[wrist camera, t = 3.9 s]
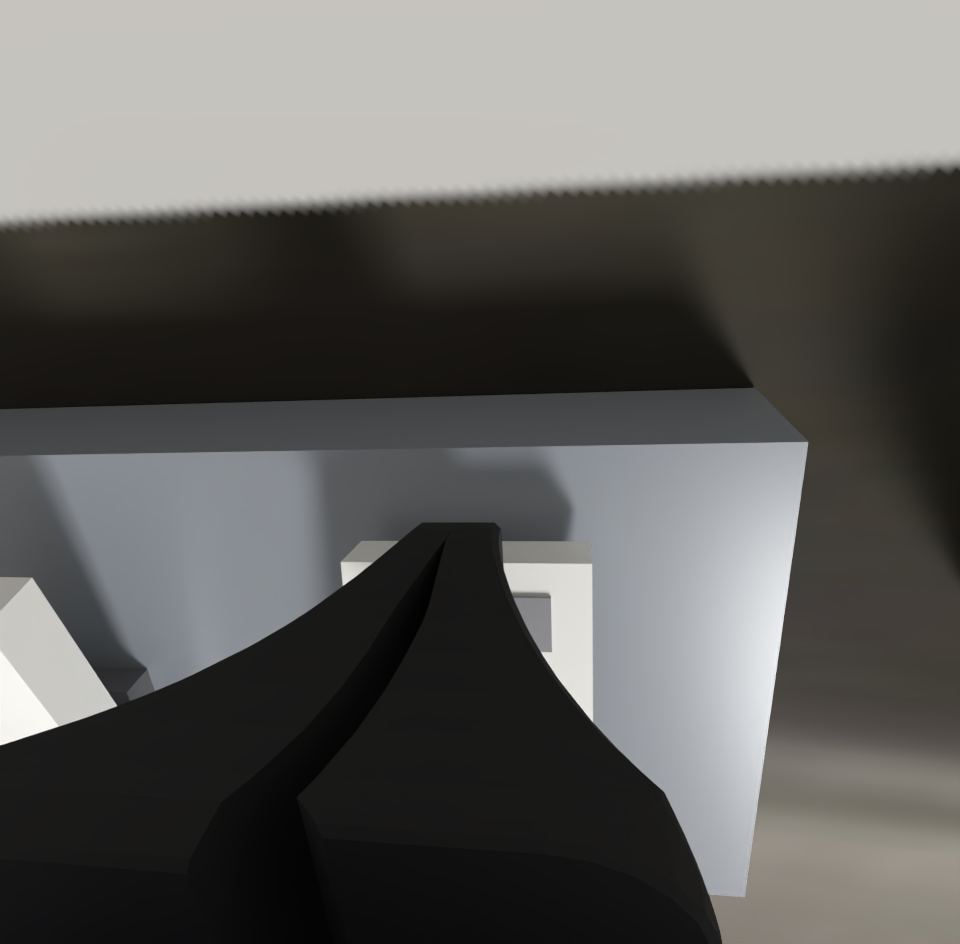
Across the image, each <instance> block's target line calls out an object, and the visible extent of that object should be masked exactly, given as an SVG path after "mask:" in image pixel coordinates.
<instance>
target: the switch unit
mask: <svg viewBox="0 0 960 944" xmlns="http://www.w3.org/2000/svg"><path fill="white" fill-rule="evenodd" d="M807 448H808V441H807V440H806V439H805V438H804V437H803V436H802V435H801V434H800V433H799V432H798V431H797V430H796V429H795V428H794V427H793V426H792V425H791V424H790V423H789V422H788V421H787V420H786V419H785V418H784V417H783V416H782V415H781V414H780V413H779V412H778V410H777V409H776V408H775V407H774V406H773V405H772V404H771V403H770V402H769V401H768V400H767V399H766V398H765V397H764V396H763V395H762V394H761V393H760V392H759V391H758V390H757V389H756V388H730V389H695V390H659V391H624V392H589V393H554V394H519V395H483V396H448V397H413V398H378V399H342V400H307V401H272V402H237V403H201V404H166V405H131V406H96V407H61V408H25V409H0V577H27V578H33V580H34V581H35V583H36V584H37V586H38V587H39V589H40V590H41V592H42V593H43V595H44V596H45V598H46V599H47V601H48V602H49V604H50V605H51V607H52V608H53V610H54V611H55V613H56V614H57V616H58V617H59V619H60V620H61V622H62V623H63V625H64V626H65V628H66V629H67V631H68V632H69V634H70V635H71V637H72V638H73V640H74V641H75V643H76V644H77V646H78V648H79V649H80V651H81V652H82V654H83V655H84V657H85V658H86V660H87V661H88V663H89V664H90V666H91V667H92V669H93V670H94V672H95V673H96V675H97V676H98V678H99V679H100V681H101V682H102V684H103V685H104V687H105V688H106V690H107V691H108V693H109V694H110V696H111V697H112V699H113V700H114V702H115V703H116V705H117V706H119V705H121V704H124V703H126V702H129V701H131V700H134V699H137V698H139V697H142V696H144V695H147V694H149V693H152V692H154V691H156V690H159V689H161V688H163V687H166V686H168V685H170V684H173V683H175V682H178V681H180V680H182V679H184V678H186V677H189V676H191V675H193V674H195V673H197V672H199V671H201V670H203V669H205V668H207V667H209V666H211V665H213V664H215V663H217V662H219V661H221V660H223V659H225V658H227V657H229V656H231V655H233V654H235V653H237V652H239V651H241V650H243V649H245V648H247V647H249V646H251V645H253V644H255V643H256V642H258V641H260V640H262V639H263V638H265V637H267V636H269V635H270V634H272V633H274V632H275V631H277V630H279V629H280V628H282V627H284V626H286V625H287V624H289V623H290V622H292V621H294V620H295V619H297V618H298V617H300V616H301V615H303V614H304V613H306V612H307V611H309V610H310V609H312V608H313V607H315V606H316V605H318V604H319V603H320V602H322V601H323V600H324V599H326V598H327V597H328V596H330V595H331V594H333V593H334V592H335V591H337V590H338V589H339V588H341V587H342V586H343V583H342V571H341V561H342V560H343V559H344V558H345V557H346V556H347V555H348V554H349V553H350V552H351V551H352V550H353V549H354V548H355V547H356V546H357V545H358V544H359V543H360V542H361V541H400V540H401V539H402V538H403V537H404V536H406V535H407V534H408V533H409V532H410V531H412V530H413V529H414V528H415V527H417V526H418V525H420V524H421V523H422V522H494V523H496V524H497V525H498V526H499V527H500V528H501V532H502V541H590V547H591V556H592V609H593V723H594V724H595V725H596V726H597V727H598V728H599V729H600V730H601V731H602V733H603V734H604V735H605V736H606V737H607V738H608V739H609V740H610V741H611V742H612V743H613V744H614V745H615V747H616V748H617V749H618V750H619V751H621V752H622V753H623V754H624V755H625V756H626V757H627V758H628V759H629V760H630V761H631V762H632V763H633V764H634V765H635V766H636V767H637V768H638V769H639V770H640V771H641V772H642V773H644V774H645V775H646V776H647V777H648V778H649V779H650V780H651V781H652V782H653V783H655V784H656V785H657V786H658V787H659V788H660V789H661V790H663V791H664V792H665V794H666V796H667V798H668V801H669V803H670V805H671V807H672V809H673V811H674V813H675V815H676V817H677V819H678V821H679V824H680V826H681V828H682V830H683V832H684V834H685V836H686V839H687V841H688V843H689V846H690V848H691V850H692V853H693V855H694V857H695V860H696V862H697V864H698V867H699V869H700V872H701V875H702V877H703V880H704V883H705V886H706V888H707V891H708V894H710V895H723V896H737V897H745V890H746V883H747V876H748V869H749V862H750V855H751V848H752V840H753V833H754V826H755V819H756V812H757V805H758V798H759V791H760V783H761V776H762V769H763V762H764V755H765V748H766V741H767V733H768V726H769V719H770V712H771V705H772V698H773V691H774V684H775V676H776V669H777V662H778V655H779V648H780V641H781V634H782V626H783V619H784V612H785V605H786V598H787V591H788V584H789V576H790V569H791V562H792V555H793V548H794V541H795V534H796V527H797V519H798V512H799V505H800V498H801V491H802V484H803V477H804V469H805V462H806V455H807Z"/></svg>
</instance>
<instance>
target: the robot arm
mask: <svg viewBox="0 0 960 944" xmlns="http://www.w3.org/2000/svg"><path fill="white" fill-rule="evenodd" d="M0 944H722V940H721V935H720V930H719V927H718V923H717V919H716V916H715V913H714V910H713V907H712V903H711V900H710V897H709V894H708V891H707V888H706V886H705V883H704V880H703V877H702V875H701V872H700V869H699V867H698V864H697V862H696V860H695V857H694V855H693V853H692V850H691V848H690V846H689V843H688V841H687V839H686V836H685V834H684V832H683V830H682V828H681V826H680V824H679V821H678V819H677V817H676V815H675V813H674V811H673V809H672V807H671V805H670V803H669V801H668V798H667V796H666V794H665V792H664V791H663V790H661V789H660V788H659V787H658V786H657V785H656V784H655V783H653V782H652V781H651V780H650V779H649V778H648V777H647V776H646V775H645V774H644V773H642V772H641V771H640V770H639V769H638V768H637V767H636V766H635V765H634V764H633V763H632V762H631V761H630V760H629V759H628V758H627V757H626V756H625V755H624V754H623V753H622V752H621V751H619V750H618V749H617V748H616V747H615V745H614V744H613V743H612V742H611V741H610V740H609V739H608V738H607V737H606V736H605V735H604V734H603V733H602V731H601V730H600V729H599V728H598V727H597V726H596V725H595V724H594V723H593V722H592V721H591V720H590V718H589V717H588V716H587V715H586V713H585V712H584V711H583V709H582V708H581V707H580V706H579V704H578V703H577V702H576V701H575V699H574V698H573V697H572V696H571V694H570V693H569V692H568V691H567V689H566V688H565V687H564V685H563V684H562V683H561V682H560V680H559V679H558V678H557V676H556V675H555V673H554V672H553V670H552V669H551V667H550V666H549V664H548V663H547V661H546V660H545V658H544V656H543V655H542V653H541V651H540V650H539V648H538V646H537V645H536V643H535V641H534V640H533V638H532V636H531V634H530V632H529V630H528V628H527V626H526V624H525V622H524V620H523V618H522V616H521V614H520V612H519V609H518V607H517V605H516V603H515V600H514V598H513V595H512V593H511V590H510V587H509V584H508V581H507V578H506V575H505V572H504V565H503V549H502V532H501V528H500V527H499V526H498V525H497V524H496V523H494V522H422V523H421V524H420V525H418V526H417V527H415V528H414V529H413V530H412V531H410V532H409V533H408V534H407V535H406V536H404V537H403V538H402V539H401V540H400V541H398V542H397V543H396V544H395V545H394V546H393V547H391V548H390V549H389V550H388V551H387V552H385V553H384V554H383V555H382V556H380V557H379V558H378V559H377V560H376V561H374V562H373V563H372V564H371V565H369V566H368V567H367V568H366V569H365V570H363V571H362V572H361V573H360V574H358V575H357V576H356V577H355V578H353V579H352V580H350V581H349V582H348V583H346V584H345V585H344V586H342V587H341V588H339V589H338V590H337V591H335V592H334V593H333V594H331V595H330V596H328V597H327V598H326V599H324V600H323V601H322V602H320V603H319V604H318V605H316V606H315V607H313V608H312V609H310V610H309V611H307V612H306V613H304V614H303V615H301V616H300V617H298V618H297V619H295V620H294V621H292V622H290V623H289V624H287V625H286V626H284V627H282V628H280V629H279V630H277V631H275V632H274V633H272V634H270V635H269V636H267V637H265V638H263V639H262V640H260V641H258V642H256V643H255V644H253V645H251V646H249V647H247V648H245V649H243V650H241V651H239V652H237V653H235V654H233V655H231V656H229V657H227V658H225V659H223V660H221V661H219V662H217V663H215V664H213V665H211V666H209V667H207V668H205V669H203V670H201V671H199V672H197V673H195V674H193V675H191V676H189V677H186V678H184V679H182V680H180V681H178V682H175V683H173V684H170V685H168V686H166V687H163V688H161V689H159V690H156V691H154V692H152V693H149V694H147V695H144V696H142V697H139V698H137V699H134V700H131V701H129V702H126V703H124V704H121V705H119V706H116V707H114V708H111V709H108V710H106V711H103V712H100V713H97V714H94V715H92V716H89V717H86V718H83V719H80V720H77V721H74V722H71V723H68V724H65V725H62V726H59V727H56V728H53V729H50V730H46V731H43V732H40V733H37V734H34V735H31V736H28V737H25V738H22V739H19V740H16V741H13V742H10V743H6V744H3V745H0Z"/></svg>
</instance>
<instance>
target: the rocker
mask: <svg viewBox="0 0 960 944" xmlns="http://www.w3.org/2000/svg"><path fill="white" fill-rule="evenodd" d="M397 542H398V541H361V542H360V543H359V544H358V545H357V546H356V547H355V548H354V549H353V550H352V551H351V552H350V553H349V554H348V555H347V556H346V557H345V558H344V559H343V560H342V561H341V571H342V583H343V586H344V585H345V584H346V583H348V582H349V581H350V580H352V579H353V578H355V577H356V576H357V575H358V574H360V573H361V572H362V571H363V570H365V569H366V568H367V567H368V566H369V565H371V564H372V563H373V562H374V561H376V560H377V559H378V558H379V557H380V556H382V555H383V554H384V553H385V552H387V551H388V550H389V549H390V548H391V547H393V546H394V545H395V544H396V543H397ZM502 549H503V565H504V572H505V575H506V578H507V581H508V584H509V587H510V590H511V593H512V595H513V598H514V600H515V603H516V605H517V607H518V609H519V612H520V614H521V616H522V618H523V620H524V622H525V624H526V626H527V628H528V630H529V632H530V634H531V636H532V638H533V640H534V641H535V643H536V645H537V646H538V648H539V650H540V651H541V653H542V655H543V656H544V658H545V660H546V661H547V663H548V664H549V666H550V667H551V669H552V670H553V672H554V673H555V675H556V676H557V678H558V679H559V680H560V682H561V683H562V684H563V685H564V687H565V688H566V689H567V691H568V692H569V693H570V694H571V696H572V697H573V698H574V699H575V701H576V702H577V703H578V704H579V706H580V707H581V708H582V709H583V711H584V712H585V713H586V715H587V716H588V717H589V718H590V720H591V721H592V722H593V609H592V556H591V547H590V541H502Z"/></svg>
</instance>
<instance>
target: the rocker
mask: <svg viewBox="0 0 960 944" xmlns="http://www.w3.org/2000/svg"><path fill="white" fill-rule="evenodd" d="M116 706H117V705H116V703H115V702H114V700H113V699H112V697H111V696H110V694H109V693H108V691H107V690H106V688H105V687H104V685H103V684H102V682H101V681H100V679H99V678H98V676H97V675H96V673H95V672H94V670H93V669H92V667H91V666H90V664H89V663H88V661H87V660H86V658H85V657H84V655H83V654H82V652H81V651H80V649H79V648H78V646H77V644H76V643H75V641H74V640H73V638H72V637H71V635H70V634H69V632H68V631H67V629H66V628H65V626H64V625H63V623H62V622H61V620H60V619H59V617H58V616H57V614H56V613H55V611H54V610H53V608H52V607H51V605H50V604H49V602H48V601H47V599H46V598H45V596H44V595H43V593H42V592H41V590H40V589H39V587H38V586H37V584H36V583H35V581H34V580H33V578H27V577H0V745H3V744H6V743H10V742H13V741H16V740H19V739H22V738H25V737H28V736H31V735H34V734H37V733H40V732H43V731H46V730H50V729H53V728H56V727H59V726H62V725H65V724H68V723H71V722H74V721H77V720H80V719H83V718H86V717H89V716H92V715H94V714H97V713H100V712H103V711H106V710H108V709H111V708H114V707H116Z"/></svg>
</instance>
